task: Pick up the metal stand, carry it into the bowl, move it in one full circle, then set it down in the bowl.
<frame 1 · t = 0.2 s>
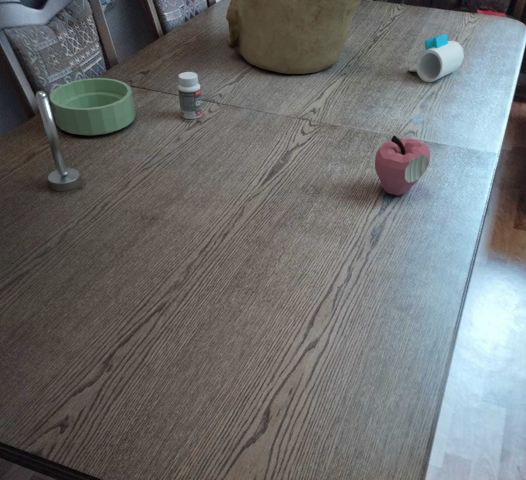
pill bottle: (191, 116, 122), on the table
ceramic vessel: (289, 56, 148), on the table
apple: (395, 191, 99), on the table
mug: (432, 74, 139), on the table
bowl: (97, 121, 119), on the table
metal stand: (66, 183, 101), on the table
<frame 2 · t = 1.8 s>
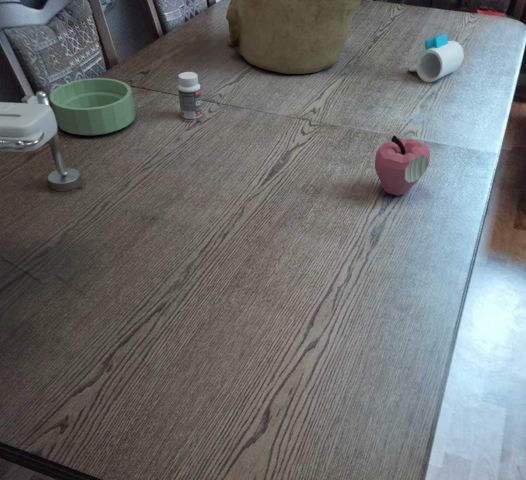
hand: (1, 99, 78), 20 cm above the table, tool horizontal, fingers open, 8 cm apart
nothing on the table moved.
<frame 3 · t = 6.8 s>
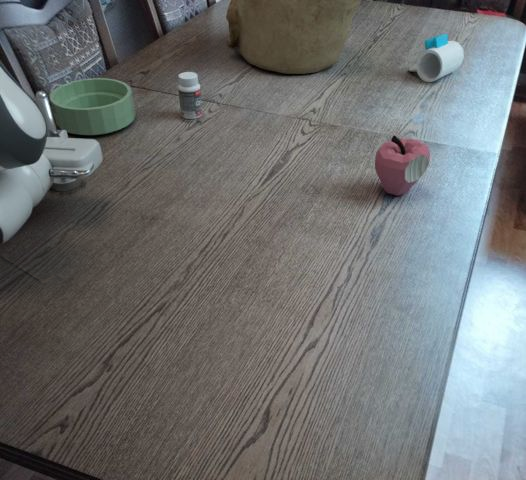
hand: (54, 133, 95), 9 cm above the table, tool horizontal, fingers closed on metal stand
metal stand: (66, 183, 101), on the table, touching gripper
everything else where it was.
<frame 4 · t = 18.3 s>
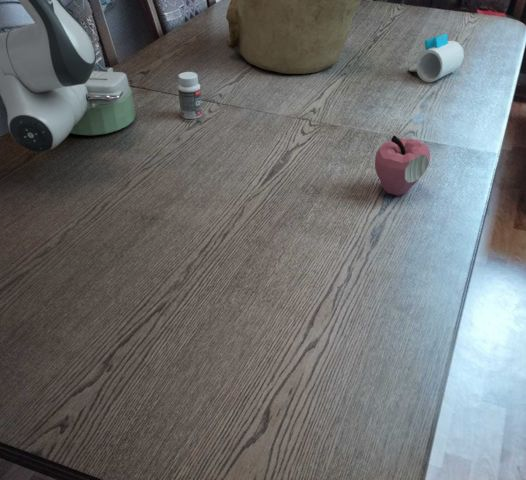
hand: (87, 70, 112), 10 cm above the table, tool horizontal, fingers open, 8 cm apart
metal stand: (96, 117, 118), point 1 cm above the table, touching bowl
everything else where it was.
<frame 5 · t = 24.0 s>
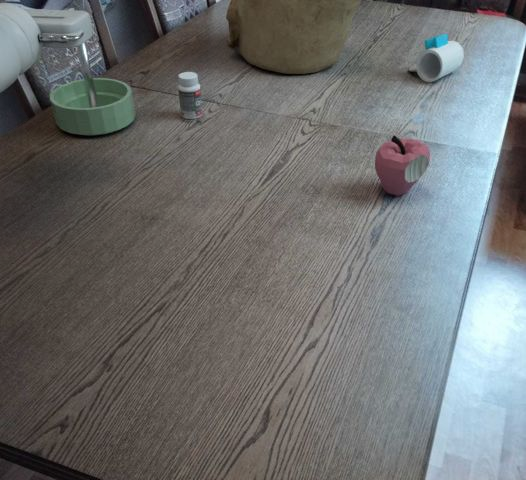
hand: (44, 12, 93), 24 cm above the table, tool horizontal, fingers open, 8 cm apart
nothing on the table moved.
at the end: metal stand inside the target area in the bowl (0.1 cm from its centre), point 0.8 cm above the bowl's base; metal stand moved 26.4 cm from its start; the gripper is holding nothing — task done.
